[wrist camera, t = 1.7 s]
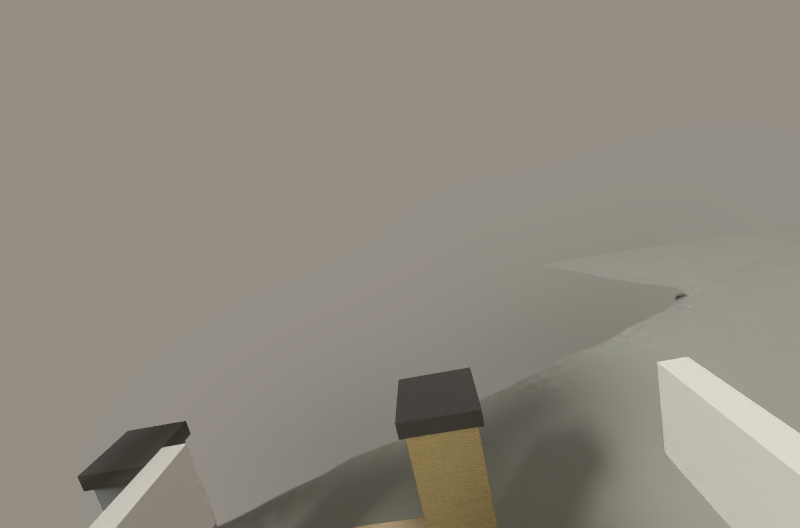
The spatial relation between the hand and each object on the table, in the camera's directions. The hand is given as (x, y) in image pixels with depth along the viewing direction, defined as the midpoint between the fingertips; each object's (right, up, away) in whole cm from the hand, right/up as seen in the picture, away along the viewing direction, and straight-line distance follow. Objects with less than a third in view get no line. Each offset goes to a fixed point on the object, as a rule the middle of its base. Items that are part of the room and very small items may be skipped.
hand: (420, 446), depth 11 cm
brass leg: (+4, -16, +15) cm, 23 cm away
